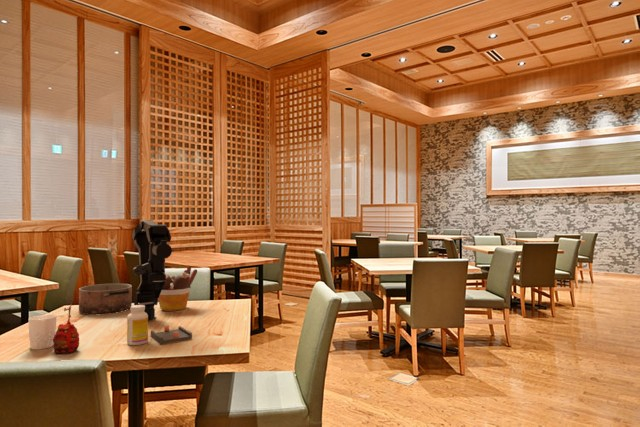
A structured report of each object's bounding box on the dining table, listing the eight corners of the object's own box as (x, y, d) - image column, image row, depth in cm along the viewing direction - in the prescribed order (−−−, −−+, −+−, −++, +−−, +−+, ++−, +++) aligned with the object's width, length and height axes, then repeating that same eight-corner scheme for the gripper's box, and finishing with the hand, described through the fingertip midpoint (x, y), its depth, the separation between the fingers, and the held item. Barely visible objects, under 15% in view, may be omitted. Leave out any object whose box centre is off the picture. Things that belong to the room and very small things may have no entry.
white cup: (36, 343, 144) (37, 314, 144) (60, 343, 145) (61, 314, 145) (22, 350, 136) (23, 320, 137) (48, 350, 137) (48, 319, 137)
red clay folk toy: (47, 354, 132) (48, 307, 133) (61, 348, 140) (62, 303, 140) (71, 354, 133) (72, 307, 133) (84, 348, 140) (84, 303, 140)
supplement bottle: (152, 341, 147) (152, 305, 147) (136, 346, 141) (137, 308, 141) (138, 339, 150) (138, 303, 150) (122, 344, 144) (123, 307, 144)
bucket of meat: (165, 314, 188) (166, 270, 188) (145, 309, 198) (146, 267, 198) (202, 307, 204) (202, 266, 204) (182, 303, 214) (182, 264, 214)
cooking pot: (66, 309, 198) (66, 286, 198) (112, 302, 216) (112, 281, 216) (97, 318, 181) (98, 293, 181) (145, 309, 199) (145, 287, 199)
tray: (150, 336, 153) (150, 327, 153) (180, 331, 160) (180, 323, 160) (160, 344, 144) (160, 335, 144) (191, 339, 150) (192, 330, 150)
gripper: (135, 254, 169) (135, 293, 169) (133, 259, 152) (133, 302, 152) (164, 254, 174) (164, 291, 173) (166, 258, 156) (165, 300, 156)
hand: (156, 296), depth 164 cm, fingers open, 9 cm apart
